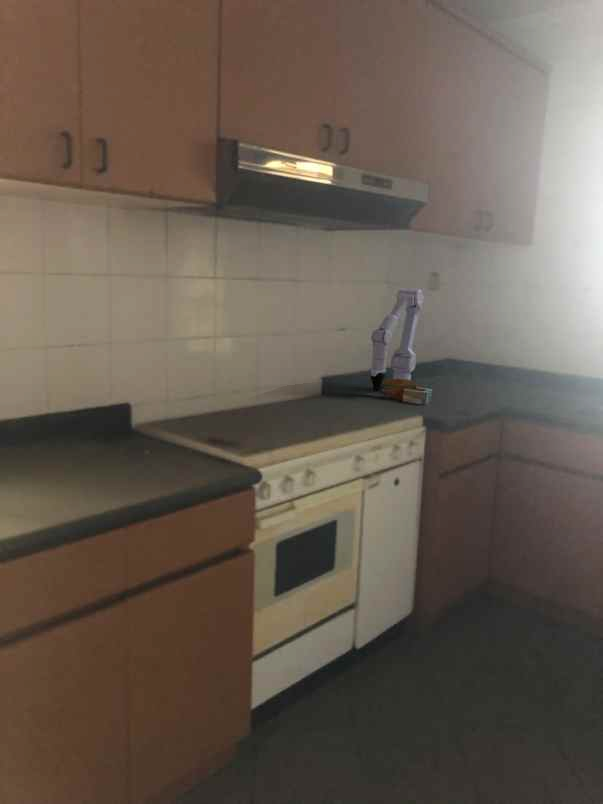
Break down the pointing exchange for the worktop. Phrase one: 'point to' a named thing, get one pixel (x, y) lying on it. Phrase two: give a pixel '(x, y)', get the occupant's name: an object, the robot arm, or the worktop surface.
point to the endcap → (417, 396)
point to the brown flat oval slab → (396, 387)
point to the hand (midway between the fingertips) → (376, 391)
